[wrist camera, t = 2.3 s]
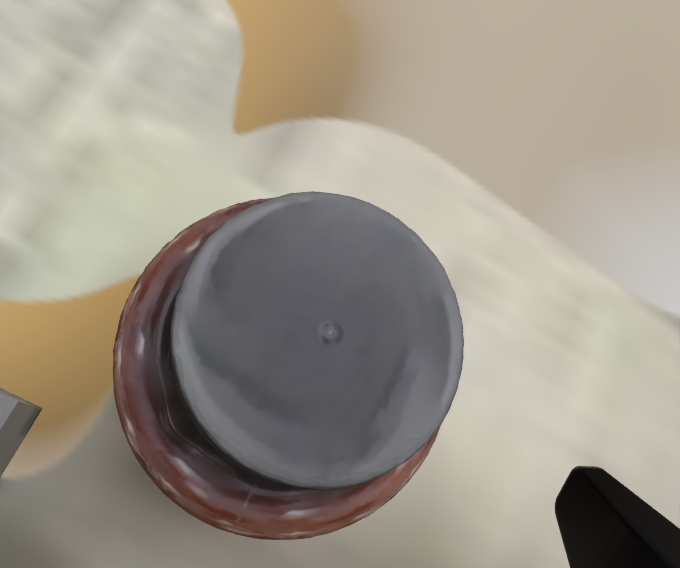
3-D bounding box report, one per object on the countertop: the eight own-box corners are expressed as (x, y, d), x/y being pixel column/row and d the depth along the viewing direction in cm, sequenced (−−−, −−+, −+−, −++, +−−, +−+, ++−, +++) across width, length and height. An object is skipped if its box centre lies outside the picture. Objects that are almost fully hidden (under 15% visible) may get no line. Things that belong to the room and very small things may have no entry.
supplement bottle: (353, 318, 20) (553, 181, 10) (323, 515, 19) (526, 608, 8) (162, 278, 19) (154, 72, 9) (112, 485, 18) (27, 546, 7)
